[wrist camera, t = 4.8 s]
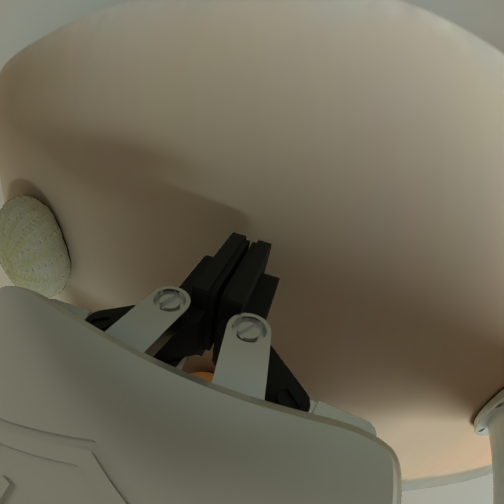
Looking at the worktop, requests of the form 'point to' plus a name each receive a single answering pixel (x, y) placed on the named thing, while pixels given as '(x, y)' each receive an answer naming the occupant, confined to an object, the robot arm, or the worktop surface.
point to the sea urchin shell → (33, 246)
